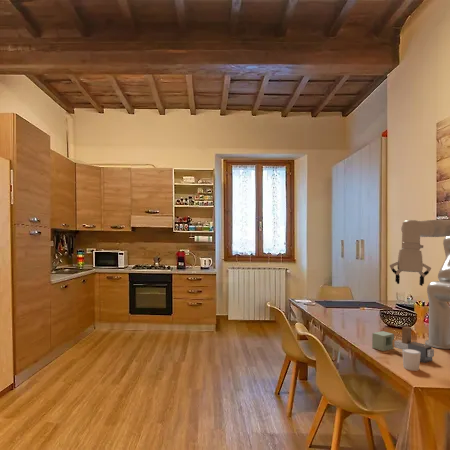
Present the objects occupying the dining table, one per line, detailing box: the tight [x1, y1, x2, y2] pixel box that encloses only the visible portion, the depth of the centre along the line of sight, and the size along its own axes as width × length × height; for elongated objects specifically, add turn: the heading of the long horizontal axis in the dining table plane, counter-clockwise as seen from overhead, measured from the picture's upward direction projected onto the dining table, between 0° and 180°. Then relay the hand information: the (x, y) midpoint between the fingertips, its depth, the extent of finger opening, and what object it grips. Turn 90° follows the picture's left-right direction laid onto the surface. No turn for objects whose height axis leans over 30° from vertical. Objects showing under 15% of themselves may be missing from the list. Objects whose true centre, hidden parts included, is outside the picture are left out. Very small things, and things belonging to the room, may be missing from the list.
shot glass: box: [401, 349, 421, 372], centre depth 157 cm, size 7×7×7 cm
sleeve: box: [408, 341, 433, 364], centre depth 169 cm, size 6×8×6 cm
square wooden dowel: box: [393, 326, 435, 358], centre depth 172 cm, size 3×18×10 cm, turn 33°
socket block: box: [371, 330, 395, 352], centre depth 184 cm, size 8×6×7 cm
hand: (409, 284), depth 177 cm, fingers open, 9 cm apart
